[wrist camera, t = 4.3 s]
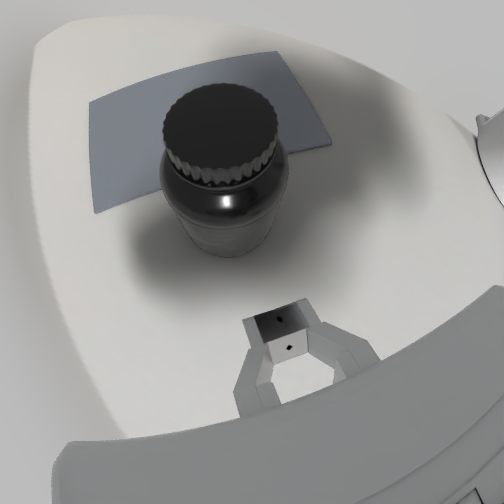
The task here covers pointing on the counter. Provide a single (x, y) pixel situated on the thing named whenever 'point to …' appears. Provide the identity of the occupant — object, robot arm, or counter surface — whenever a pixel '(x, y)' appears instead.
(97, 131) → the mat
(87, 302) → the counter surface
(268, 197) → the supplement bottle
